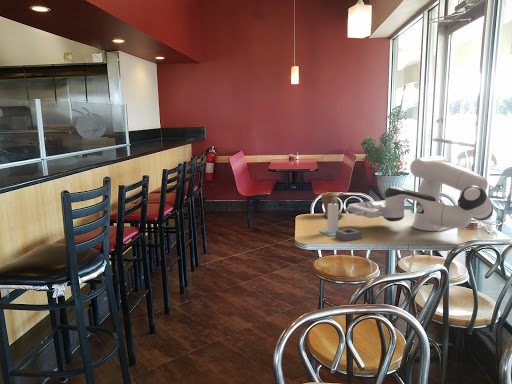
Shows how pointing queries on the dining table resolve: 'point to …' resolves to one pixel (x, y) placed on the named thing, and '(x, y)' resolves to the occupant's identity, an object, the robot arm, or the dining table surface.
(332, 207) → the plug
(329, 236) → the mat
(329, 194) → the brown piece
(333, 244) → the dining table surface
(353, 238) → the grey socket block
